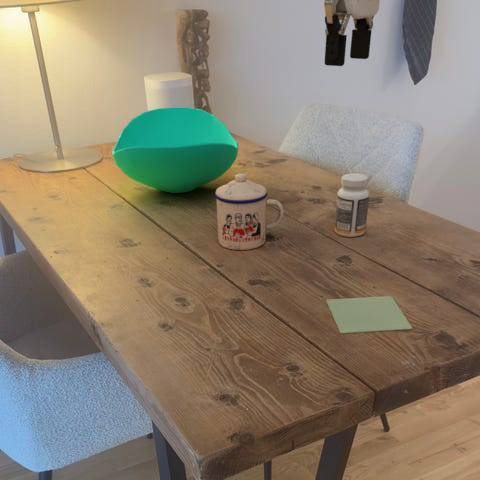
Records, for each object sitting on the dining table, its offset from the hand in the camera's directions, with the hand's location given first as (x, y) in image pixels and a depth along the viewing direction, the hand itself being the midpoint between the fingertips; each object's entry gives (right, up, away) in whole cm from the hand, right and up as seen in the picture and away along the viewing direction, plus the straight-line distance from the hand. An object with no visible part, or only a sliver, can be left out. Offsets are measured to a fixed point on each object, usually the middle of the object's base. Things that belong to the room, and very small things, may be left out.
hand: (347, 61), depth 92 cm
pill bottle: (+3, -24, +13) cm, 27 cm away
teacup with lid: (-16, -26, +11) cm, 32 cm away
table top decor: (-32, -5, +37) cm, 49 cm away
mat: (+1, -44, -12) cm, 45 cm away
